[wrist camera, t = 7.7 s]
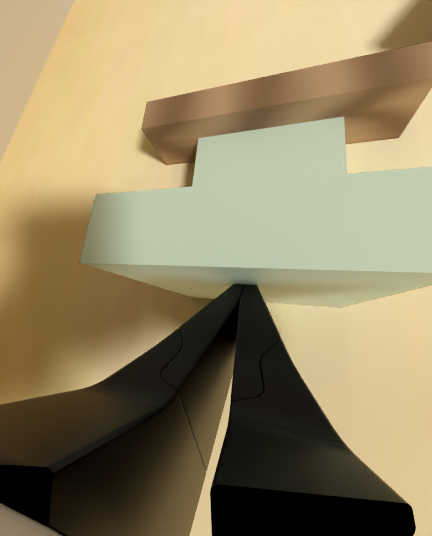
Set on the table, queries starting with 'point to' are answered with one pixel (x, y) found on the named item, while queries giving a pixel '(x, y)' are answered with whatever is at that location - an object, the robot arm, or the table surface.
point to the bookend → (273, 223)
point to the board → (299, 102)
